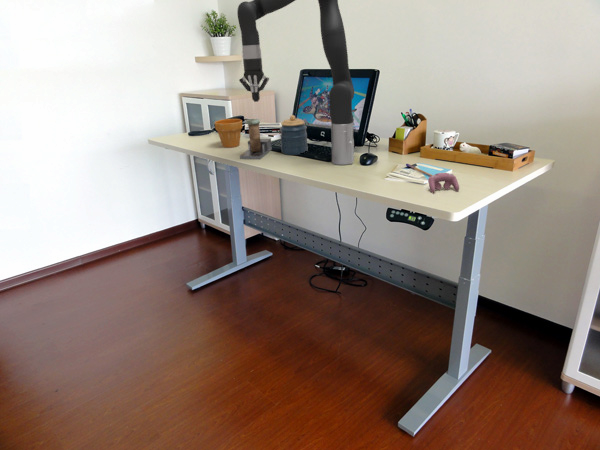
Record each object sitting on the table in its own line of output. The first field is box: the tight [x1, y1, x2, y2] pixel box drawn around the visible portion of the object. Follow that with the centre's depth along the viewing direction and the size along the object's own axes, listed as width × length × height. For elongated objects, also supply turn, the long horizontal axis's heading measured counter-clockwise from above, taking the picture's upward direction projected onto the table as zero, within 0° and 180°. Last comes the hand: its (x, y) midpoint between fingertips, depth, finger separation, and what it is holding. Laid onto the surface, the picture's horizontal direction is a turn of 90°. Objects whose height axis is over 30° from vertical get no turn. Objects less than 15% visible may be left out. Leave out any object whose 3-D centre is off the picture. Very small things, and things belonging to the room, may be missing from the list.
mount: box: [239, 138, 273, 160], centre depth 200 cm, size 10×18×6 cm, turn 166°
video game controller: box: [427, 172, 460, 194], centre depth 143 cm, size 10×5×7 cm, turn 93°
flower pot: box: [214, 118, 243, 149], centre depth 217 cm, size 14×14×13 cm
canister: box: [279, 114, 309, 156], centre depth 198 cm, size 13×13×18 cm
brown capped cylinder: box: [246, 118, 261, 152], centre depth 198 cm, size 6×6×15 cm
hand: (256, 101), depth 175 cm, fingers closed
